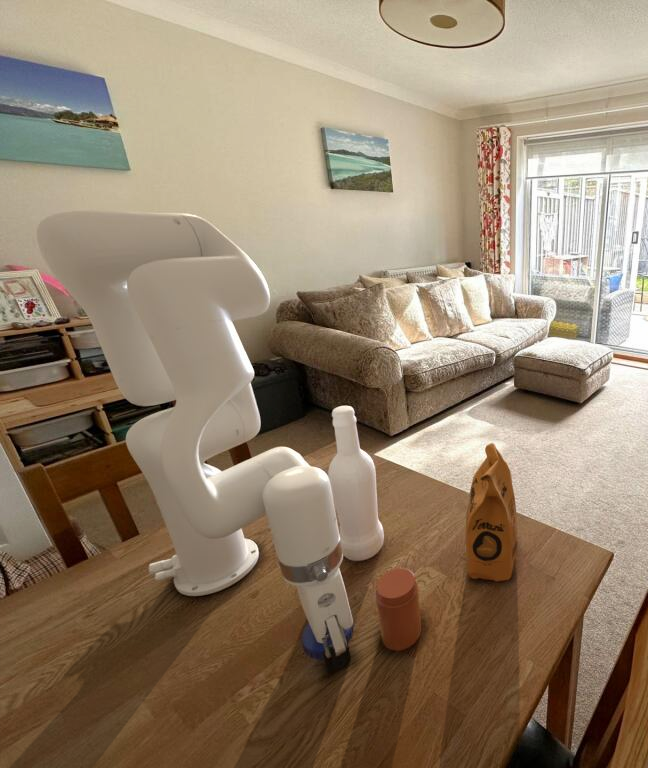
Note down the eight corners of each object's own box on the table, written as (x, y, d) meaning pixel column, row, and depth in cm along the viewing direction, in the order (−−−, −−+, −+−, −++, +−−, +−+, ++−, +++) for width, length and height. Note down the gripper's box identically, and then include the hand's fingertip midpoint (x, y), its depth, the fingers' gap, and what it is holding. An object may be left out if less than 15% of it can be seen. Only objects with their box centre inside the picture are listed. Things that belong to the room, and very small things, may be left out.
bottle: (371, 566, 74) (350, 422, 63) (332, 559, 76) (305, 416, 65) (392, 536, 82) (376, 401, 71) (355, 529, 83) (335, 397, 72)
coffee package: (458, 582, 72) (455, 478, 64) (470, 532, 83) (469, 439, 75) (514, 586, 71) (518, 482, 63) (518, 536, 83) (522, 442, 74)
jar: (386, 658, 59) (379, 606, 55) (377, 624, 64) (370, 575, 60) (426, 639, 62) (422, 589, 58) (415, 608, 67) (410, 560, 63)
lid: (340, 607, 64) (338, 600, 64) (362, 635, 60) (361, 627, 60) (295, 638, 60) (293, 630, 59) (316, 670, 55) (314, 661, 55)
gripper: (362, 582, 50) (378, 677, 57) (322, 510, 62) (338, 594, 69) (297, 616, 46) (321, 715, 52) (267, 531, 58) (290, 619, 65)
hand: (331, 645), depth 61 cm, fingers closed on lid, 6 cm apart
